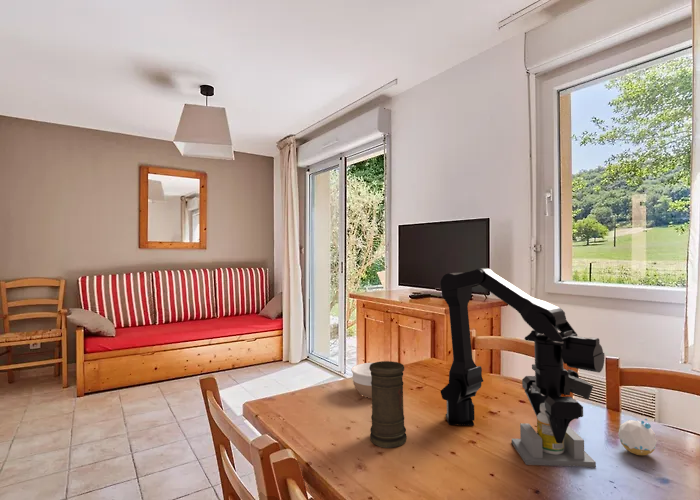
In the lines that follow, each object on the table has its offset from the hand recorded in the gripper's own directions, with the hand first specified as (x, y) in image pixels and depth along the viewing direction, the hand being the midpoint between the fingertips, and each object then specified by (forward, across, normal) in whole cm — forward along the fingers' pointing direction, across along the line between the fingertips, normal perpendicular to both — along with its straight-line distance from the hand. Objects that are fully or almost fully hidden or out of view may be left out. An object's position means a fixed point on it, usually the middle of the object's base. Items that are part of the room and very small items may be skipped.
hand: (550, 433), depth 89 cm
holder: (+5, 0, 0) cm, 5 cm away
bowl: (+5, +38, +40) cm, 55 cm away
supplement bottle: (+4, 0, 0) cm, 4 cm away
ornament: (+5, +2, -19) cm, 20 cm away
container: (+5, +5, +36) cm, 37 cm away
